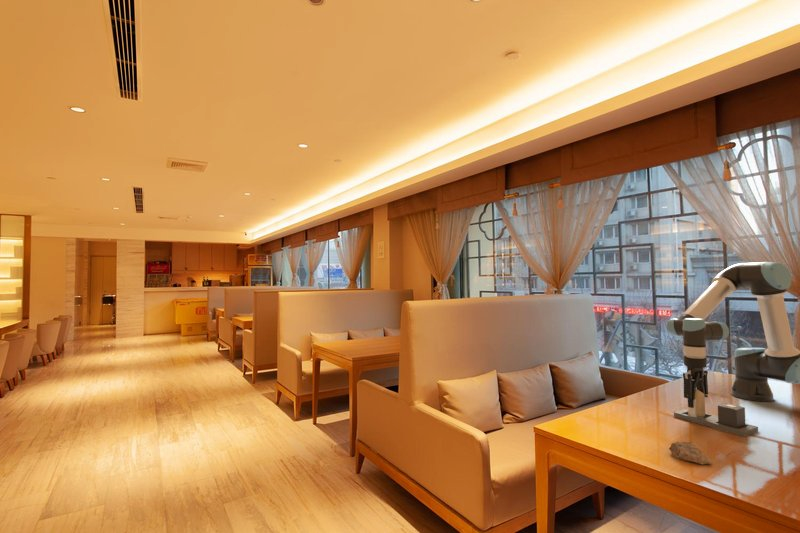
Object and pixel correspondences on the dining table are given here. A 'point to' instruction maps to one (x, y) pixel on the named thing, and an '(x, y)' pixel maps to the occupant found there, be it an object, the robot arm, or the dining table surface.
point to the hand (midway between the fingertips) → (696, 413)
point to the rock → (689, 452)
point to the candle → (700, 403)
